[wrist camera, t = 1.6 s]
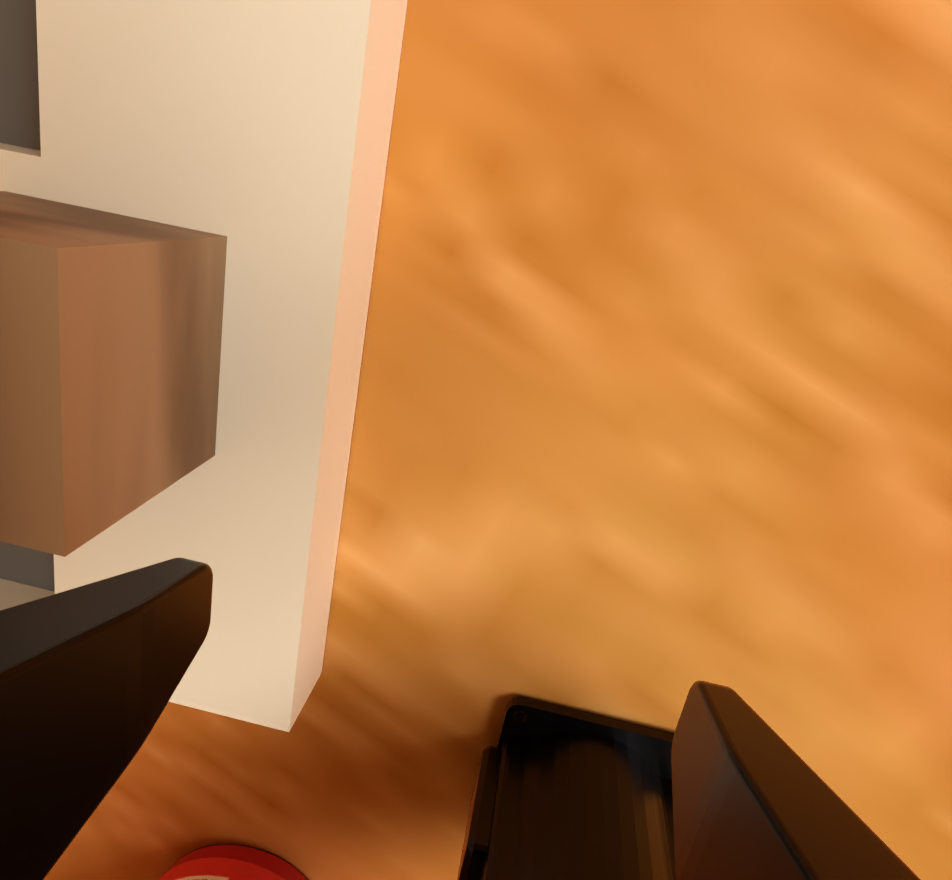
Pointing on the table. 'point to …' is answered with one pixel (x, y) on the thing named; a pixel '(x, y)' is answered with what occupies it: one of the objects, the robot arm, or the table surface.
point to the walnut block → (101, 365)
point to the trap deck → (226, 284)
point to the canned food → (231, 865)
